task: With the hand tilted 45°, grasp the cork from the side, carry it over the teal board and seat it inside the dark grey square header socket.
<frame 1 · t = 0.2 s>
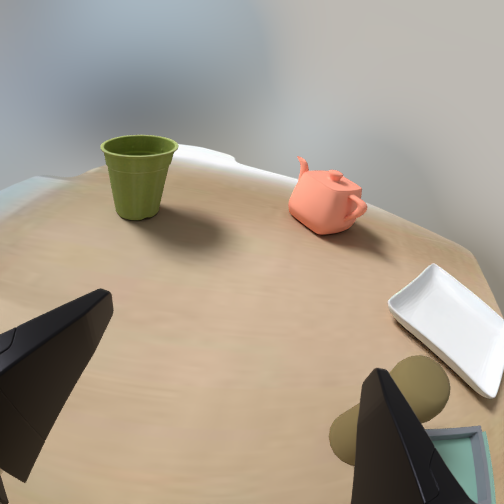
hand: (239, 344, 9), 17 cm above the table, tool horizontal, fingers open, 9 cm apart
plant pot: (136, 211, 46), on the table
salad plate: (451, 333, 37), on the table
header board: (447, 476, 18), on the table
teapot: (316, 220, 56), on the table
cork: (357, 438, 22), on the table
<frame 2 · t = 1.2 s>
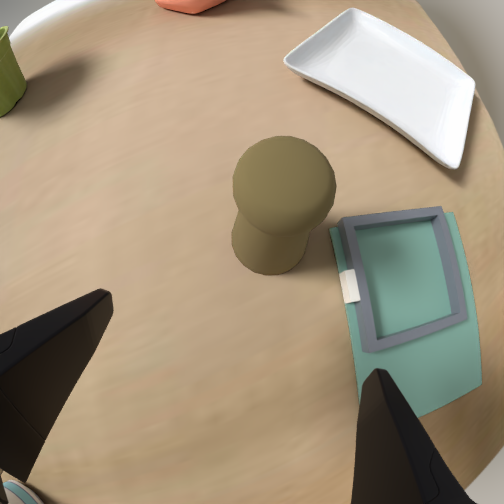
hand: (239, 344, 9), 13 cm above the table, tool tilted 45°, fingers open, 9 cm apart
beverage can: (32, 501, 16), on the table
plant pot: (10, 100, 28), on the table
salad plate: (390, 83, 30), on the table
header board: (403, 275, 23), on the table
teapot: (194, 0, 33), on the table
cork: (269, 238, 24), on the table
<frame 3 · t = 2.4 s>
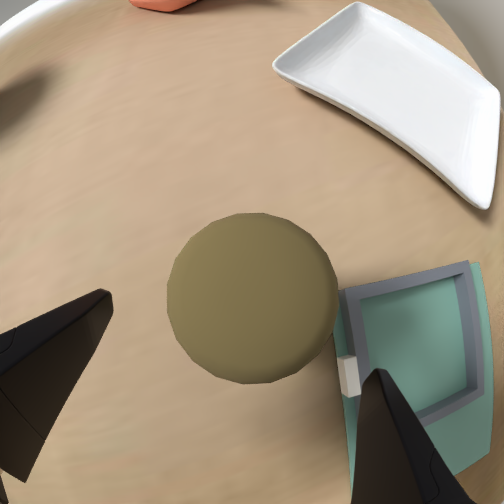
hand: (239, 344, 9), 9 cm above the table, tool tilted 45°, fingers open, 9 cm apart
salad plate: (405, 93, 24), on the table
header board: (416, 350, 17), on the table
cork: (248, 312, 18), on the table
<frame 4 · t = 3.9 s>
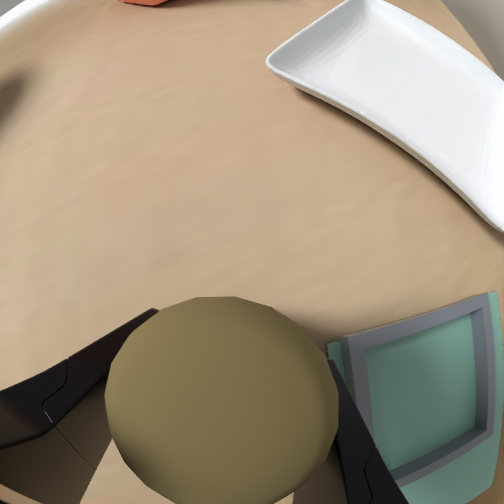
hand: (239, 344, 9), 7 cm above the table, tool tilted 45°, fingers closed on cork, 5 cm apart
salad plate: (417, 94, 21), on the table
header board: (424, 394, 14), on the table
cork: (234, 360, 15), on the table, touching gripper
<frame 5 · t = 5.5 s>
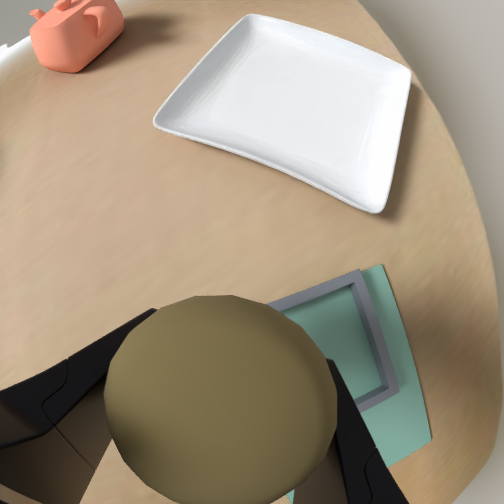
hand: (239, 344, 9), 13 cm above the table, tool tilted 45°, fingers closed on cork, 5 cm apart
salad plate: (297, 102, 28), on the table
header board: (314, 358, 21), on the table
teapot: (82, 50, 30), on the table
cork: (233, 359, 15), point 7 cm above the table, touching gripper
when the fingers open (8 cm above the table, at t = 7.5 s): cork drops 1 cm, resting on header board.
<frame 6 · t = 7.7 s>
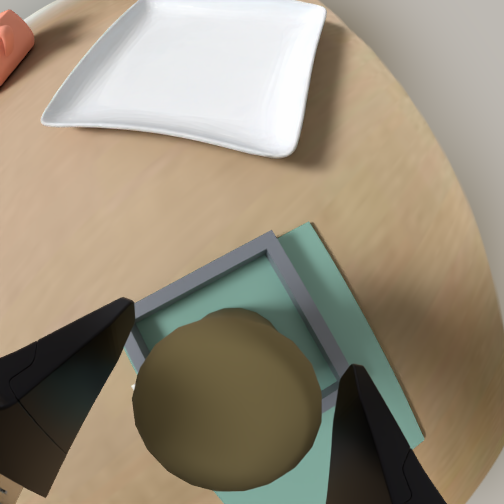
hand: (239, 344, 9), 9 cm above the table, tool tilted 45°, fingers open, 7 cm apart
salad plate: (195, 65, 23), on the table
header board: (235, 356, 17), on the table
teapot: (1, 73, 24), on the table
cork: (234, 358, 17), resting on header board
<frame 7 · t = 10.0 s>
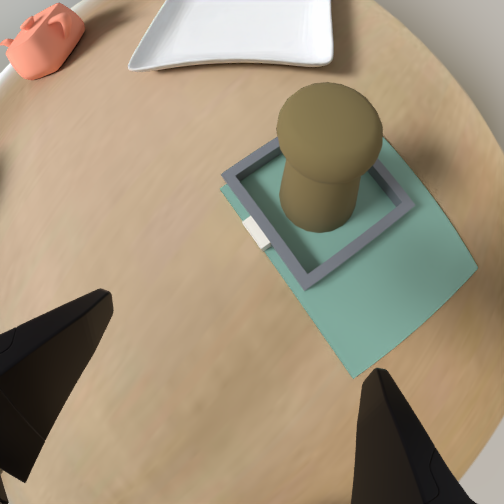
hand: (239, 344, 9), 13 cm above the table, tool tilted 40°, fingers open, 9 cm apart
salad plate: (242, 23, 28), on the table
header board: (318, 194, 22), on the table
teapot: (56, 57, 33), on the table
cork: (317, 195, 22), resting on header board
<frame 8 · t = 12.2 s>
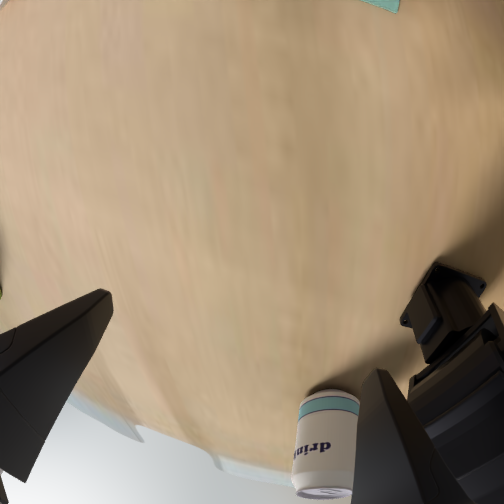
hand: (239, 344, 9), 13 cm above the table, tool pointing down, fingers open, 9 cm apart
beverage can: (329, 398, 31), on the table
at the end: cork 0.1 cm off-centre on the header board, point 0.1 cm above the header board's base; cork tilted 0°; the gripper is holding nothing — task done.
